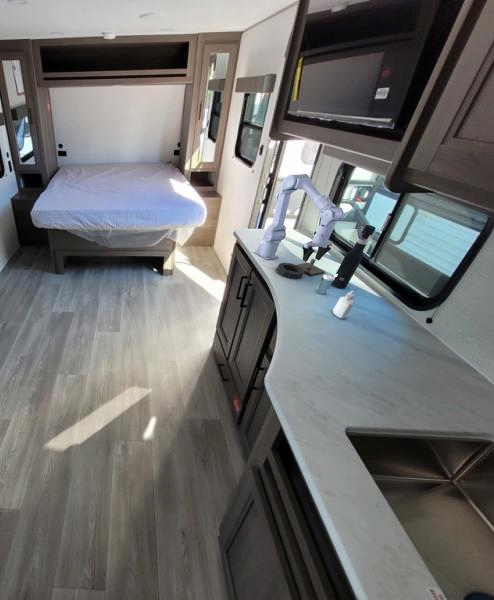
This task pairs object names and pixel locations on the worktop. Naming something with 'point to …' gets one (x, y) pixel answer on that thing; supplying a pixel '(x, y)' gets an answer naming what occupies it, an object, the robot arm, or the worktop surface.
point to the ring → (296, 273)
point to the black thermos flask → (352, 260)
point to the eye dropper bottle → (344, 305)
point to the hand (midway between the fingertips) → (310, 260)
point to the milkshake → (325, 283)
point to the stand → (311, 268)
